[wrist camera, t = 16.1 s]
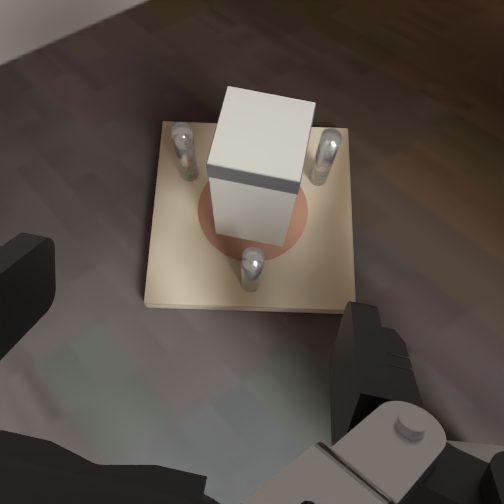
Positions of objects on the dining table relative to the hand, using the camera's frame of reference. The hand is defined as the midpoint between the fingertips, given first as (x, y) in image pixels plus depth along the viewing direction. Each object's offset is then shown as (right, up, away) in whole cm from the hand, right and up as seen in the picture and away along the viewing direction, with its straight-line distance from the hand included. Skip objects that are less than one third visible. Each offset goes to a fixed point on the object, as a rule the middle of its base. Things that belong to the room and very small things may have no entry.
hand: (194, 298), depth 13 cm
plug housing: (+2, +4, +18) cm, 19 cm away
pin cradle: (+2, +4, +20) cm, 20 cm away
